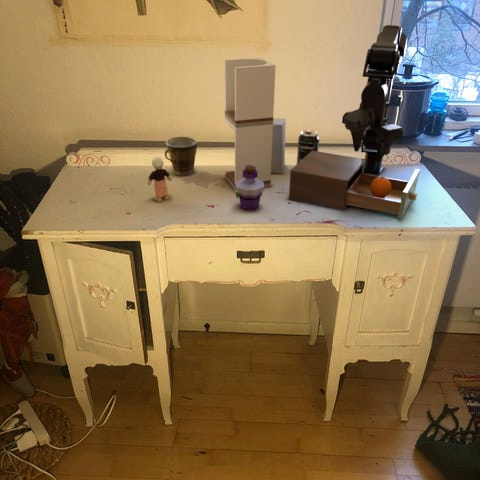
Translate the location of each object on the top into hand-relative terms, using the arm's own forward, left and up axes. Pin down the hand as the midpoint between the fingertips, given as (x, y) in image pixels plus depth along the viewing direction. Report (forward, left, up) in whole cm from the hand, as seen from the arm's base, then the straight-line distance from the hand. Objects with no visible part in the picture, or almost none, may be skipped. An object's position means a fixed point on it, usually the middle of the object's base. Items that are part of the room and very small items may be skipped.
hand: (367, 156), depth 148 cm
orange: (-2, +5, -12) cm, 13 cm away
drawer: (-2, +6, -13) cm, 14 cm away
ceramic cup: (+4, -59, -14) cm, 61 cm away
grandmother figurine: (+24, -54, -14) cm, 61 cm away
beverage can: (-18, -23, -14) cm, 33 cm away
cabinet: (-2, -11, -14) cm, 18 cm away
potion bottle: (+17, -28, -14) cm, 36 cm away
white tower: (+1, -36, -14) cm, 39 cm away
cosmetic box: (-13, -33, -14) cm, 38 cm away
